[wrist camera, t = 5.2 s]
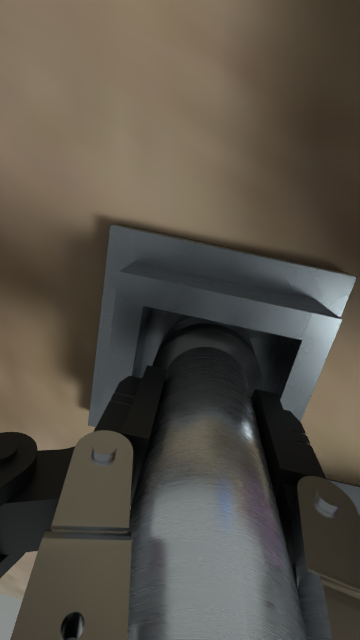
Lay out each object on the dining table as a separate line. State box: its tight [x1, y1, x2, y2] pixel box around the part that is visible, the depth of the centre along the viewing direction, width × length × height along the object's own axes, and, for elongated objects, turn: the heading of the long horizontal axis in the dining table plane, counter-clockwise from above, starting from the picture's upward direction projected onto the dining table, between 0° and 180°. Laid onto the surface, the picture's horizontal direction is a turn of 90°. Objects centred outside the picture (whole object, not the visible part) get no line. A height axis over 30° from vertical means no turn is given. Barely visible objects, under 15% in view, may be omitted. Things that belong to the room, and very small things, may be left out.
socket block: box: [88, 224, 357, 427], centre depth 13 cm, size 10×10×4 cm
